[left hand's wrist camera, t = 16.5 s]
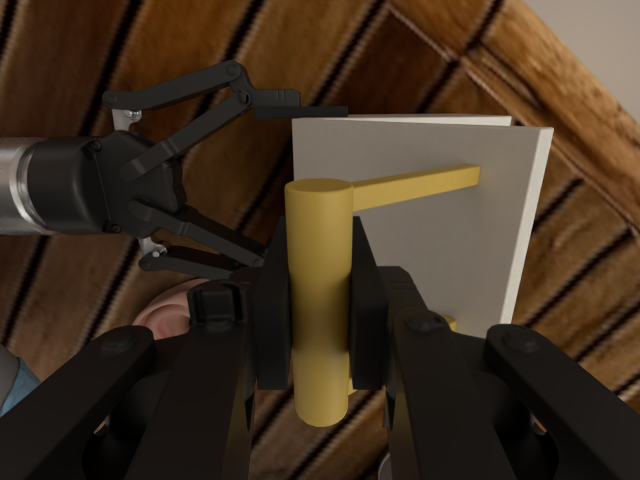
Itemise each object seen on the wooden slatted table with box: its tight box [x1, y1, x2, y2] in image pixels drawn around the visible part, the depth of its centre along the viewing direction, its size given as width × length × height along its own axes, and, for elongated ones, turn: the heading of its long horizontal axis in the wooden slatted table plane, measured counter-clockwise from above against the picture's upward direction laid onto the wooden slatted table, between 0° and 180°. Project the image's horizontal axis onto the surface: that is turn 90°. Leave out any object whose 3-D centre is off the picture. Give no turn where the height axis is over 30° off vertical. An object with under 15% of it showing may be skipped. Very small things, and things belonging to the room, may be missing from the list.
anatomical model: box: [132, 278, 210, 340], centre depth 38 cm, size 13×4×12 cm
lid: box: [285, 119, 554, 427], centre depth 16 cm, size 15×10×9 cm
